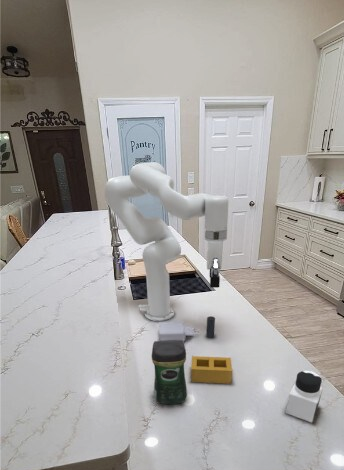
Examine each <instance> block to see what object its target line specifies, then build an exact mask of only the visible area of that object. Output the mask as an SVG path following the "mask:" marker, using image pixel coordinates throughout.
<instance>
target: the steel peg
mask: <svg viewBox="0 0 344 470" xmlns="http://www.w3.org/2000/svg"><path fill="white" fill-rule="evenodd" d="M215 329H216V317H215V316H207V317H206V335H205V336H206V338H207V339H214V338H215Z"/></svg>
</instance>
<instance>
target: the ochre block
mask: <svg viewBox="0 0 344 470" xmlns="http://www.w3.org/2000/svg"><path fill="white" fill-rule="evenodd" d="M190 364H191V365H190V382H191V383H204V384H205V383H206V384H208V383H209V384H224V385H225V384H227V385H231V384H232V378H233V377H232V376H233V367H232V358H231V357H222V356H200V355H199V356H198V355H197V356H196V355H195V356H194V355H192V356H191V363H190Z"/></svg>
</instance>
